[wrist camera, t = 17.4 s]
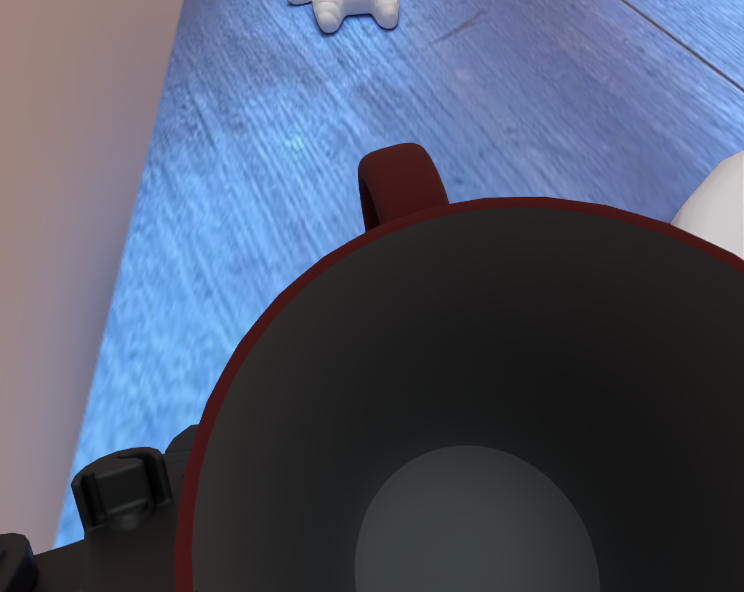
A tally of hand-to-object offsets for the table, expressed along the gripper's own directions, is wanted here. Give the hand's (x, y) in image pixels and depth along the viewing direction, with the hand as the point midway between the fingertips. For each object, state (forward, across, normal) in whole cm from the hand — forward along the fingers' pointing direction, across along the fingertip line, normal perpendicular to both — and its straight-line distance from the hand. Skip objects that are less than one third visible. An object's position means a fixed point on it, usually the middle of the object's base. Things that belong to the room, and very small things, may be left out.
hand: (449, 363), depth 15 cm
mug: (+1, 0, -5) cm, 5 cm away
